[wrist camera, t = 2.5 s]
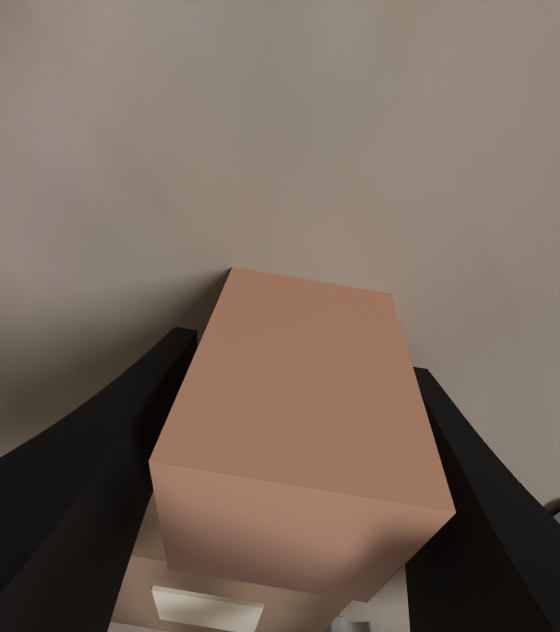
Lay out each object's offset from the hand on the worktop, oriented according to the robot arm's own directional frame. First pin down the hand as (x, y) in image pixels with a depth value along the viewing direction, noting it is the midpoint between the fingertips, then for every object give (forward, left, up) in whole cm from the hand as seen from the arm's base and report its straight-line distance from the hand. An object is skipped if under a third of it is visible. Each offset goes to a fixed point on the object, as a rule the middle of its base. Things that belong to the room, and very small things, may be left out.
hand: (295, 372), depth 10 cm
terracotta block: (0, 0, -2) cm, 2 cm away
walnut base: (+2, +19, -1) cm, 19 cm away
